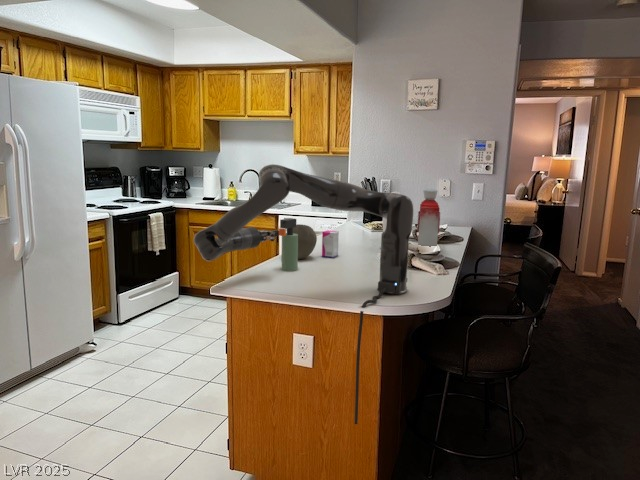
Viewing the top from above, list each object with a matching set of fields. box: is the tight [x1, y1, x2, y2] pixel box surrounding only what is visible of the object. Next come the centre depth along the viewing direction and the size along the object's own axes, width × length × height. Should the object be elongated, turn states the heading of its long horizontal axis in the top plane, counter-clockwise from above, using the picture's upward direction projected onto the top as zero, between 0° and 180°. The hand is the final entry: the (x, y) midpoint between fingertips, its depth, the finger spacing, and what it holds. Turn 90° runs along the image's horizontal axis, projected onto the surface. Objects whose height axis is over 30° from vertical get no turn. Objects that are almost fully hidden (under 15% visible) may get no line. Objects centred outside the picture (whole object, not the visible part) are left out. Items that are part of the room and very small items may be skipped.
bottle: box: [416, 188, 441, 247], centre depth 230 cm, size 14×10×30 cm
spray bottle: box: [279, 217, 299, 272], centre depth 192 cm, size 8×6×20 cm
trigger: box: [278, 228, 287, 237], centre depth 188 cm, size 1×3×3 cm, turn 53°
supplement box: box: [321, 230, 340, 259], centre depth 218 cm, size 6×6×12 cm
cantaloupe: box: [293, 223, 318, 260], centre depth 213 cm, size 14×14×15 cm
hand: (277, 232), depth 186 cm, fingers closed
